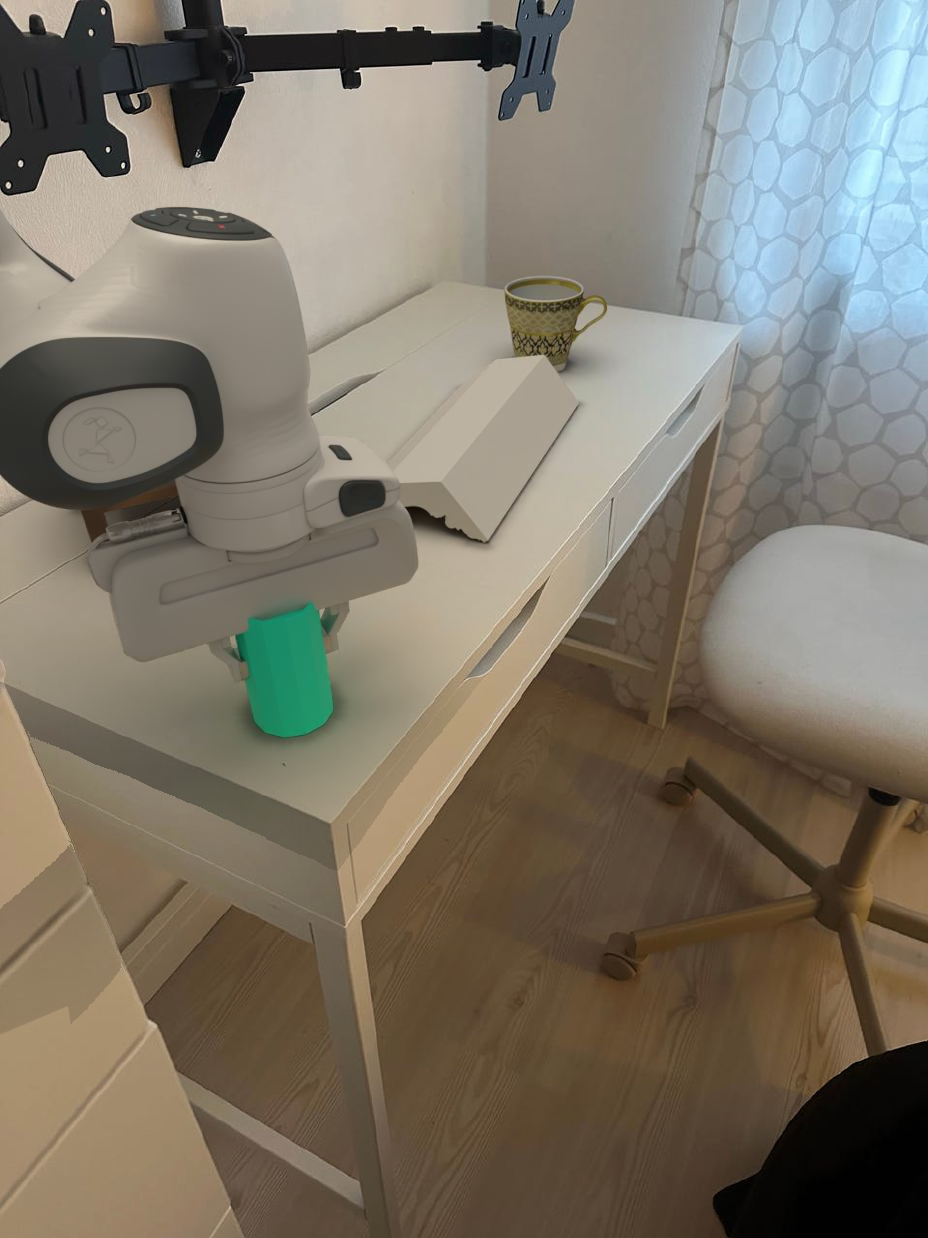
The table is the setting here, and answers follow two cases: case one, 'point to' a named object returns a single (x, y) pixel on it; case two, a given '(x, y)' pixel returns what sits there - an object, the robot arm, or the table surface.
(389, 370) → the table surface
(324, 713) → the candle
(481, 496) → the molding piece
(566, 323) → the ceramic cup
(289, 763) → the table surface
